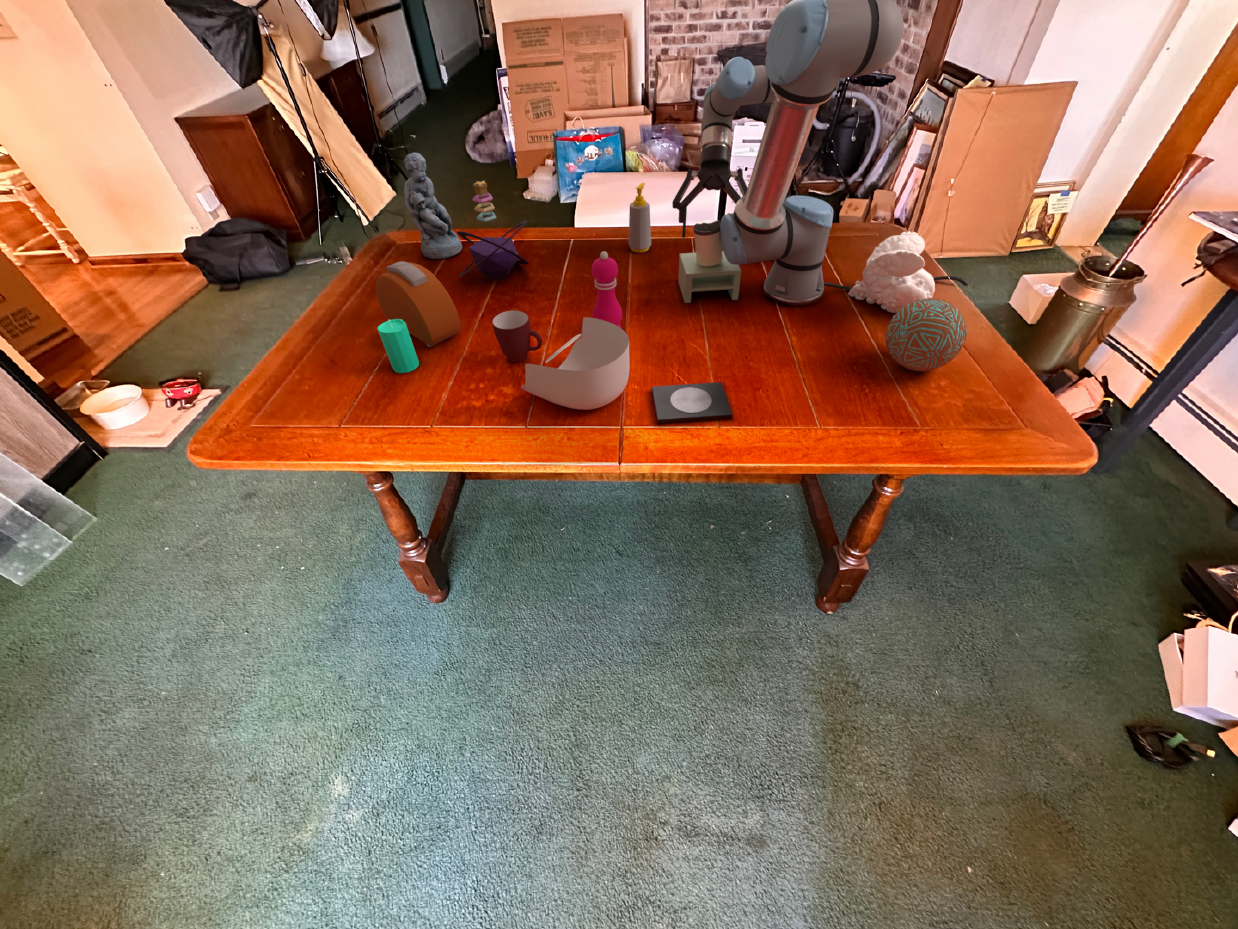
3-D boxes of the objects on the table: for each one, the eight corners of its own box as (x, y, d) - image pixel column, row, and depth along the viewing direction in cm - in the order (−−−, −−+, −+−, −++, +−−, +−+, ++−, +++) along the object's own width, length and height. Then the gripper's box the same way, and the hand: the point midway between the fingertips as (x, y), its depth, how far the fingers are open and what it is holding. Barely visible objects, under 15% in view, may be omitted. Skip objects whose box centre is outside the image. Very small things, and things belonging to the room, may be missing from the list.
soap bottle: (654, 245, 171) (655, 183, 158) (646, 254, 166) (646, 191, 154) (634, 242, 173) (633, 180, 160) (625, 251, 169) (623, 188, 156)
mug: (548, 348, 132) (542, 310, 125) (542, 368, 126) (536, 329, 119) (504, 348, 133) (496, 310, 126) (497, 367, 127) (488, 329, 120)
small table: (728, 278, 154) (731, 250, 148) (737, 299, 145) (741, 270, 140) (678, 281, 154) (679, 253, 148) (684, 303, 145) (686, 273, 140)
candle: (395, 375, 126) (377, 329, 118) (390, 362, 130) (372, 316, 122) (421, 368, 128) (406, 321, 120) (415, 355, 132) (400, 309, 124)
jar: (720, 251, 146) (719, 217, 139) (725, 263, 141) (724, 228, 135) (694, 256, 146) (691, 222, 140) (697, 268, 141) (695, 233, 135)
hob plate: (721, 386, 119) (721, 381, 118) (731, 419, 111) (732, 414, 111) (651, 391, 119) (651, 386, 118) (657, 424, 111) (657, 419, 110)
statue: (447, 273, 171) (454, 188, 150) (381, 239, 170) (379, 150, 150) (467, 256, 179) (477, 173, 158) (403, 223, 178) (405, 136, 158)
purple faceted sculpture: (551, 268, 162) (539, 176, 145) (503, 299, 150) (484, 203, 132) (493, 253, 171) (475, 164, 154) (444, 281, 159) (418, 188, 141)
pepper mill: (619, 340, 134) (616, 259, 119) (590, 338, 135) (583, 257, 121) (625, 324, 139) (623, 245, 124) (597, 322, 140) (591, 243, 126)
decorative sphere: (862, 356, 125) (881, 294, 115) (914, 339, 129) (937, 278, 119) (911, 392, 116) (938, 329, 105) (966, 373, 119) (997, 310, 109)
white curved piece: (596, 431, 110) (592, 382, 102) (521, 401, 118) (511, 353, 110) (646, 378, 122) (646, 331, 114) (575, 354, 130) (570, 309, 121)
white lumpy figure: (963, 296, 125) (898, 237, 123) (889, 352, 139) (830, 301, 138) (964, 265, 137) (905, 211, 136) (896, 320, 152) (842, 272, 150)
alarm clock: (466, 338, 137) (449, 273, 125) (435, 353, 132) (414, 288, 120) (414, 307, 148) (394, 246, 137) (384, 321, 144) (361, 258, 132)
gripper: (763, 159, 143) (758, 242, 144) (666, 159, 146) (661, 240, 146) (768, 142, 136) (763, 230, 136) (666, 143, 138) (661, 228, 139)
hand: (710, 235), depth 141 cm, fingers open, 13 cm apart
